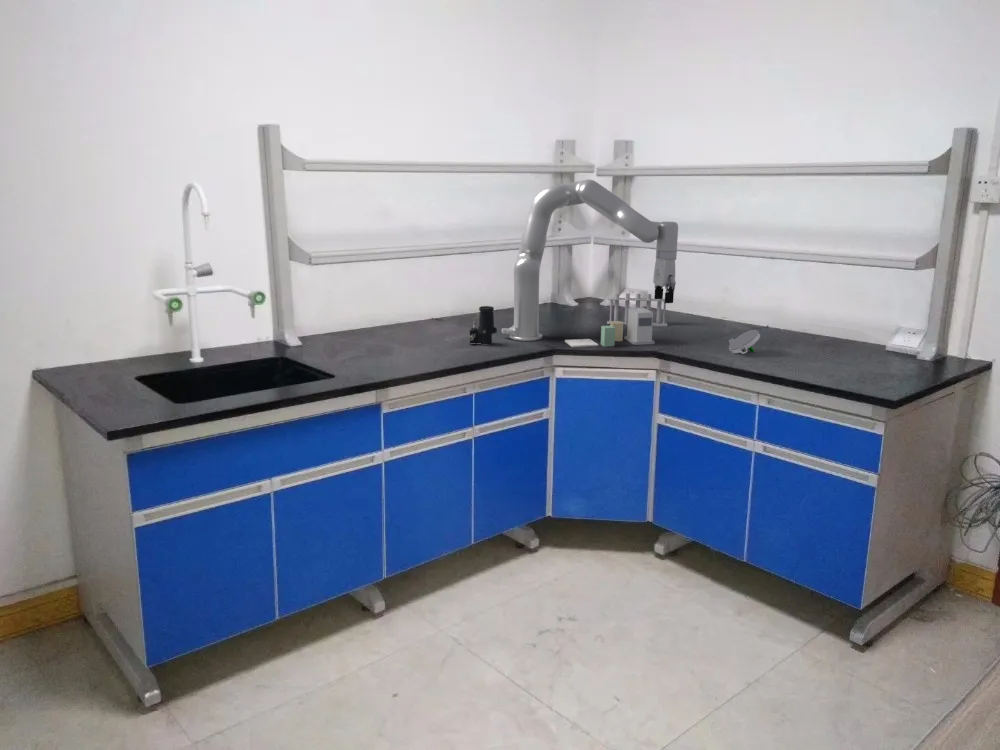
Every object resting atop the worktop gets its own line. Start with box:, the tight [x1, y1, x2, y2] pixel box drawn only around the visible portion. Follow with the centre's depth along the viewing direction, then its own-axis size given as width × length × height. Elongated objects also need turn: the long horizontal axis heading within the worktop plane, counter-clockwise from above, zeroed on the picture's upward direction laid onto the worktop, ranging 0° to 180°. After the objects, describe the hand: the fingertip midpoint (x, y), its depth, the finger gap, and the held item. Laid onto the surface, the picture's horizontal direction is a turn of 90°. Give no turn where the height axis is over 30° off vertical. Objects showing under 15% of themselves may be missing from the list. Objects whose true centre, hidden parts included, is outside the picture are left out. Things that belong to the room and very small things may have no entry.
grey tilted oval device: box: [728, 329, 761, 355], centre depth 276 cm, size 15×8×11 cm
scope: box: [468, 305, 498, 345], centre depth 288 cm, size 8×14×10 cm
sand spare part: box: [608, 320, 624, 342], centre depth 296 cm, size 4×4×7 cm
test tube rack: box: [606, 292, 668, 327], centre depth 325 cm, size 25×4×13 cm, turn 82°
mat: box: [564, 338, 599, 348], centre depth 290 cm, size 10×10×1 cm
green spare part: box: [600, 325, 616, 347], centre depth 287 cm, size 4×4×7 cm
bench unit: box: [623, 307, 656, 346], centre depth 293 cm, size 8×11×12 cm
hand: (663, 300), depth 292 cm, fingers open, 9 cm apart
